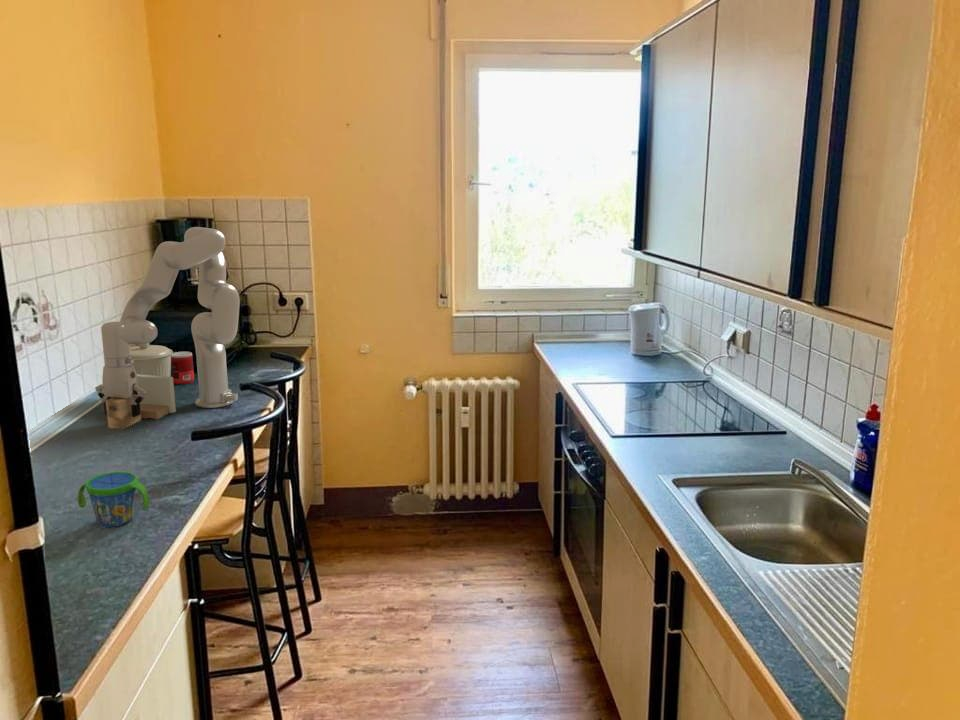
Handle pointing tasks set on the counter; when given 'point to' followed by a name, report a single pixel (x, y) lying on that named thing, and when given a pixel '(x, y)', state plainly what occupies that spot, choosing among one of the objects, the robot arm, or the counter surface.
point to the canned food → (182, 367)
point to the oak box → (120, 413)
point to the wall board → (156, 396)
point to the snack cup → (113, 497)
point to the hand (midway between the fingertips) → (122, 414)
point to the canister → (151, 360)
